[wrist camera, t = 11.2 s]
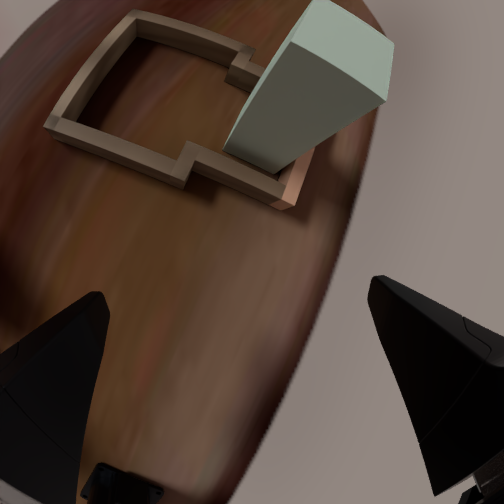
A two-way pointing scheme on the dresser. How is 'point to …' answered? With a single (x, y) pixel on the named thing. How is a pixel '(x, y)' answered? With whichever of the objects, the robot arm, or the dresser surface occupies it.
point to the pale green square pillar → (312, 87)
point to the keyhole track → (192, 155)
